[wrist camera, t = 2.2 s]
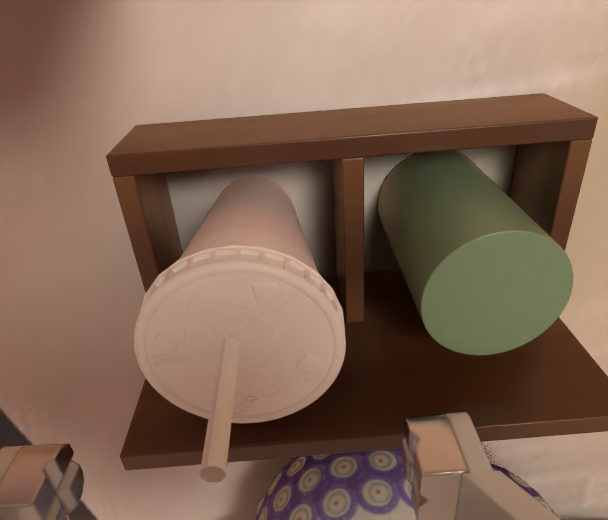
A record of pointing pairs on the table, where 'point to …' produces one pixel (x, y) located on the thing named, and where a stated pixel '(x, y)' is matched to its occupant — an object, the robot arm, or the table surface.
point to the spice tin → (471, 255)
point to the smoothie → (241, 320)
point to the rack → (375, 279)
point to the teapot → (348, 488)
